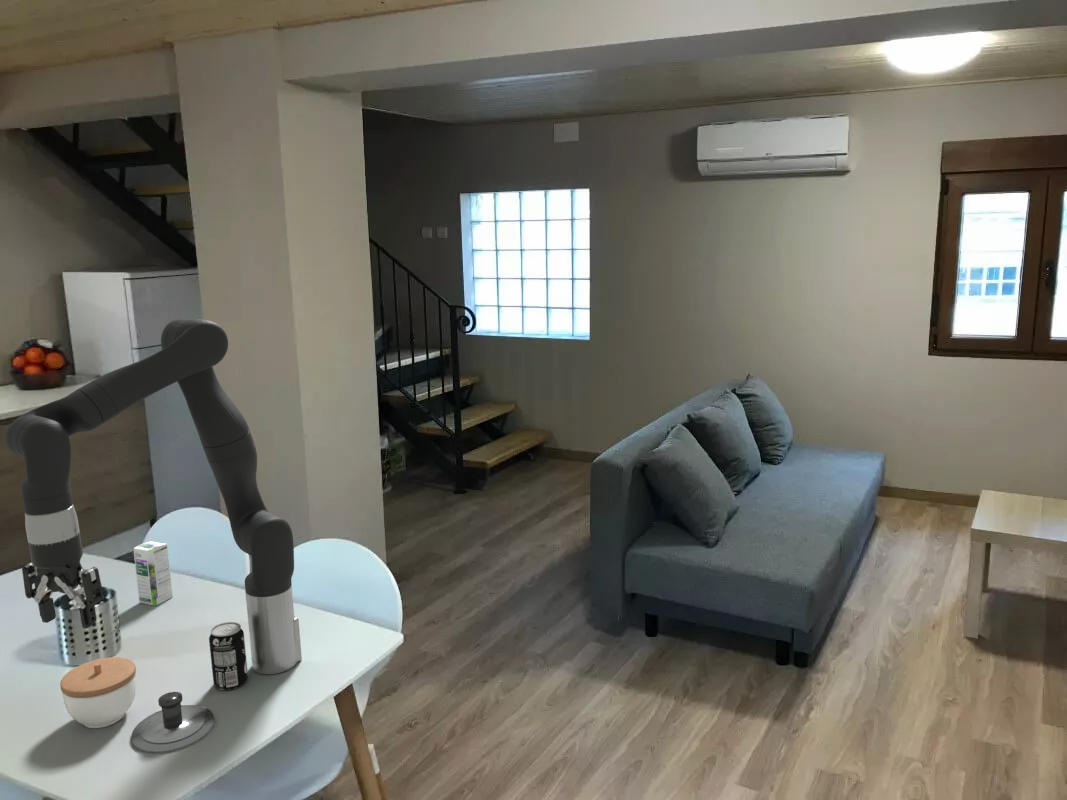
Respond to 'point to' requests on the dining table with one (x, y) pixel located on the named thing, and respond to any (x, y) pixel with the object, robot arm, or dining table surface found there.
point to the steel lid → (172, 726)
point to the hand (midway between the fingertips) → (69, 623)
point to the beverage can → (228, 656)
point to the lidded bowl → (99, 691)
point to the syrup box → (153, 573)
